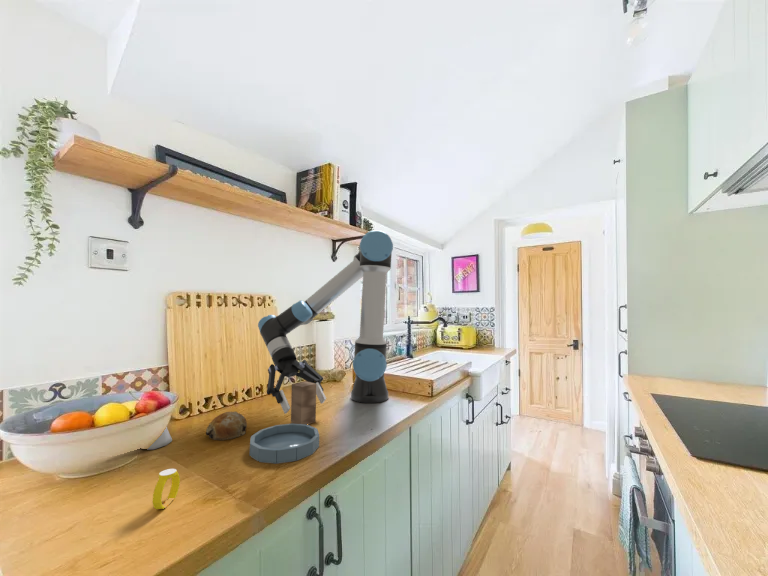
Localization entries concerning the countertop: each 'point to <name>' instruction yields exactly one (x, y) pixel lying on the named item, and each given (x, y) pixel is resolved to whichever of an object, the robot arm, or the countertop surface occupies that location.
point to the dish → (284, 443)
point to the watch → (160, 485)
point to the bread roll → (227, 426)
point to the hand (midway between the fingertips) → (306, 405)
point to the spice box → (303, 403)
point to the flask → (162, 440)
